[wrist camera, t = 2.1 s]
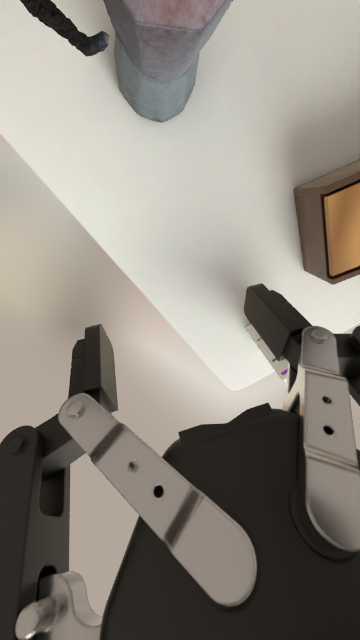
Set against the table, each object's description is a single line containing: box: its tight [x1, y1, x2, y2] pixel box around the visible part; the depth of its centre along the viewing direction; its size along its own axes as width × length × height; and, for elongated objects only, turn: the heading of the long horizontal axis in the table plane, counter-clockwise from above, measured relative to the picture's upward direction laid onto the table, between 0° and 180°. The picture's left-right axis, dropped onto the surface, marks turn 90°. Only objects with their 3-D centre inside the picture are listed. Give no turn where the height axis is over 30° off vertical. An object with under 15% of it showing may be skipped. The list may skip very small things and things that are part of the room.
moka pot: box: [20, 0, 233, 122], centre depth 17 cm, size 10×15×20 cm, turn 114°
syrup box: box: [246, 324, 289, 384], centre depth 37 cm, size 6×6×14 cm
